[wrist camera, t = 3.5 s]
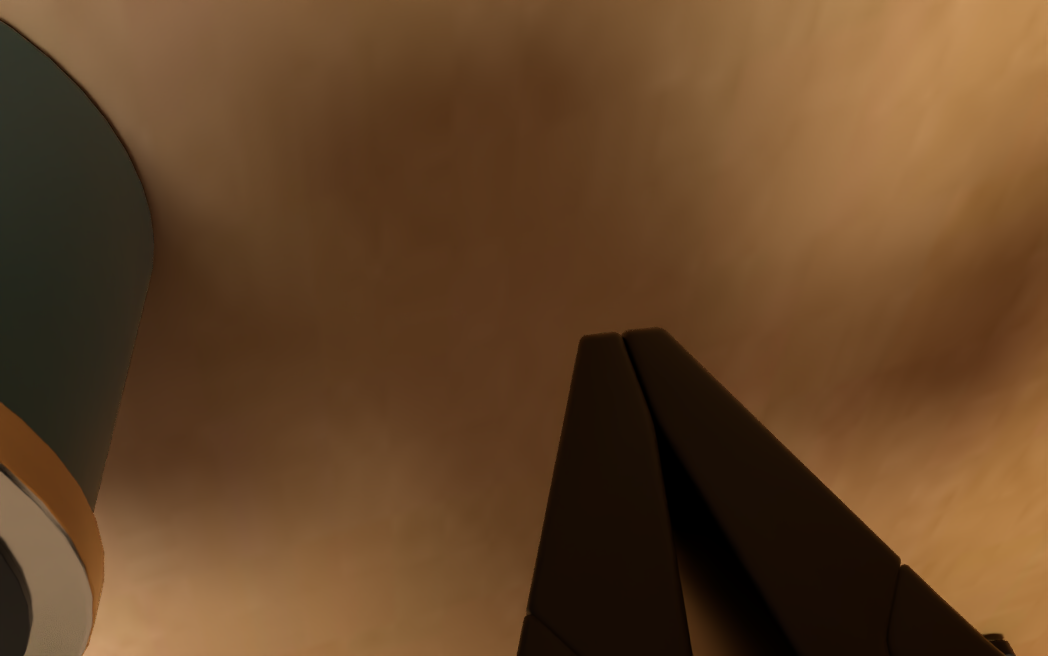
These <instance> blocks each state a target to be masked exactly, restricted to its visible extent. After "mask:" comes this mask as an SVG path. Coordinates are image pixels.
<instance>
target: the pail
mask: <svg viewBox="0 0 1048 656" xmlns="http://www.w3.org/2000/svg"><path fill="white" fill-rule="evenodd" d="M153 255H154V237H153V229H152V221H151V214H150V210H149V207H148V204H147V200H146V197H145V194H144V190H143V187H142V184H141V182H140V179H139V177H138V175H137V173H136V171H135V169H134V167H133V165H132V162H131V160H130V158H129V156H128V154H127V152H126V150H125V148H124V147H123V145H122V144H121V142H120V141H119V139H118V138H117V136H116V134H115V133H114V131H113V130H112V128H111V127H110V125H109V123H108V122H107V120H106V119H105V118H104V117H103V115H102V114H101V113H100V112H99V110H98V109H97V108H96V107H95V106H94V104H93V103H92V102H91V101H90V100H89V98H88V97H87V96H86V95H85V93H84V92H83V91H82V90H81V89H80V88H79V87H78V86H77V85H76V84H75V83H74V82H73V81H72V80H71V79H70V78H69V77H68V76H67V75H66V74H65V73H64V72H63V71H62V70H61V69H60V68H59V67H58V66H57V65H56V64H55V63H54V62H53V61H52V60H51V59H50V58H49V57H48V56H46V55H45V54H44V53H43V52H41V51H40V50H39V49H38V48H36V47H35V46H34V45H33V44H31V43H30V42H29V41H28V40H26V39H25V38H24V37H23V36H21V35H20V34H19V33H18V32H16V31H15V30H14V29H13V28H11V27H10V26H8V25H7V24H5V23H4V22H2V21H1V20H0V656H82V655H83V654H84V652H85V650H86V649H87V647H88V645H89V641H90V638H91V634H92V630H93V627H94V623H95V619H96V615H97V610H98V606H99V601H100V597H101V592H102V587H103V583H104V549H103V545H102V541H101V537H100V533H99V529H98V525H97V521H96V518H95V516H94V514H93V513H94V509H95V504H96V500H97V496H98V492H99V488H100V484H101V480H102V476H103V471H104V467H105V463H106V459H107V455H108V451H109V447H110V443H111V438H112V434H113V430H114V426H115V422H116V418H117V414H118V410H119V406H120V401H121V397H122V393H123V389H124V385H125V381H126V377H127V373H128V368H129V364H130V360H131V356H132V352H133V348H134V344H135V340H136V335H137V331H138V327H139V323H140V319H141V315H142V311H143V307H144V303H145V298H146V294H147V290H148V286H149V282H150V278H151V273H152V269H153Z"/></svg>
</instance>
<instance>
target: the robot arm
mask: <svg viewBox="0 0 1048 656" xmlns="http://www.w3.org/2000/svg"><path fill="white" fill-rule="evenodd" d="M900 564H901V559H900V558H899V556H898V555H896V554H895V553H894V552H893V551H892V550H891V549H890V548H889V547H888V546H887V545H886V544H885V543H884V542H883V541H882V540H881V539H880V538H879V537H878V536H877V535H876V534H875V533H874V532H873V531H872V530H871V529H870V528H869V527H868V526H867V525H866V524H865V523H864V522H863V521H861V520H860V519H859V518H858V517H857V516H856V515H855V514H854V513H853V512H852V511H851V510H850V509H849V508H848V507H847V506H846V505H845V504H844V503H843V502H842V501H841V500H840V499H839V498H838V497H837V496H836V495H835V494H834V493H833V492H832V491H831V490H830V489H829V488H827V487H826V486H825V485H824V484H823V483H822V482H821V481H820V480H819V479H818V478H817V477H816V476H815V475H814V474H813V473H812V472H811V471H810V470H809V469H808V468H807V467H806V466H805V465H804V464H803V463H802V462H801V461H800V460H799V459H798V458H797V457H796V456H795V455H794V454H792V453H791V452H790V451H789V450H788V449H787V448H786V447H785V446H784V445H783V444H782V443H781V442H780V441H779V440H778V439H777V438H776V437H775V436H774V435H773V434H772V433H771V432H770V431H769V430H768V429H767V428H766V427H765V426H764V425H763V424H762V423H761V422H760V421H758V420H757V419H756V418H755V417H754V416H753V415H752V414H751V413H750V412H749V411H748V410H747V409H746V408H745V407H744V406H743V405H742V404H741V403H740V402H739V401H738V400H737V399H736V398H735V397H734V396H733V395H732V394H731V393H730V392H729V391H728V390H727V389H726V388H725V387H723V386H722V385H721V384H720V383H719V382H718V381H717V380H716V379H715V378H714V377H713V376H712V375H711V374H710V373H709V372H708V371H707V370H706V369H705V368H704V367H703V366H702V365H701V364H700V363H699V362H698V361H697V360H696V359H695V358H694V357H693V356H692V355H691V354H689V353H688V352H687V351H686V350H685V349H684V348H683V347H682V346H681V345H680V344H679V343H678V342H677V341H676V340H675V339H674V338H673V337H672V336H671V335H670V334H669V333H668V332H667V331H666V330H664V329H662V328H659V327H653V328H644V329H635V330H628V331H625V332H624V333H623V334H622V336H621V335H620V334H619V333H617V332H608V333H599V334H590V335H584V336H583V337H581V339H580V341H579V345H578V350H577V355H576V360H575V365H574V370H573V375H572V380H571V385H570V391H569V396H568V401H567V406H566V411H565V416H564V421H563V426H562V431H561V436H560V441H559V446H558V451H557V456H556V461H555V466H554V471H553V476H552V482H551V487H550V492H549V497H548V502H547V507H546V512H545V517H544V522H543V527H542V532H541V537H540V542H539V547H538V552H537V557H536V562H535V568H534V573H533V578H532V583H531V588H530V593H529V598H528V603H527V608H526V614H527V615H526V616H525V617H524V621H523V626H522V631H521V636H520V641H519V646H518V651H517V656H1016V655H1015V653H1014V652H1013V650H1012V648H1011V646H1010V644H1009V643H1008V641H1005V640H996V641H988V640H987V639H986V638H985V637H984V636H982V635H981V634H980V633H979V632H978V631H977V630H976V629H975V628H974V627H973V626H972V625H971V624H969V623H968V622H967V621H966V620H965V619H964V618H963V617H962V616H961V615H960V614H959V613H958V612H956V611H955V610H954V609H953V608H952V607H951V606H950V605H949V604H948V603H947V602H946V601H945V600H943V599H942V598H941V597H940V596H939V595H938V594H937V593H936V592H935V591H934V590H933V589H932V588H931V587H930V586H929V585H928V584H927V583H926V582H925V581H924V580H923V579H922V578H921V577H919V576H918V575H917V574H916V573H915V572H914V571H913V570H912V569H911V568H910V567H909V566H908V565H906V564H904V565H901V566H900Z"/></svg>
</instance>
